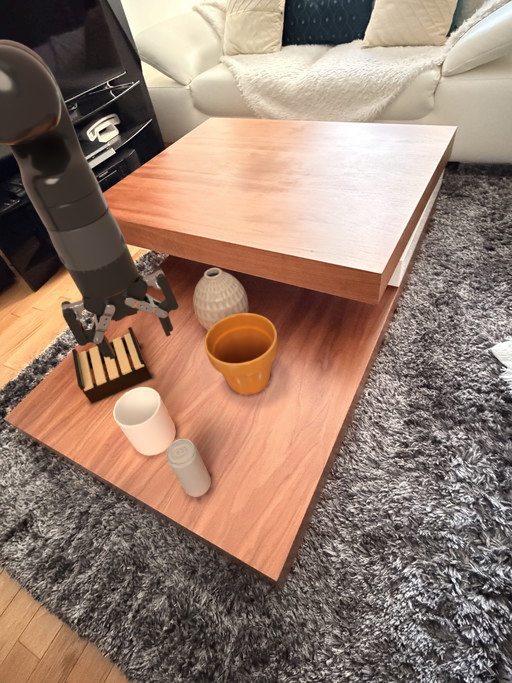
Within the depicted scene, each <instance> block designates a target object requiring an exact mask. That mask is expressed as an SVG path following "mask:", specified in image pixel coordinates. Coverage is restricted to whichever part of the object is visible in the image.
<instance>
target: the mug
mask: <svg viewBox="0 0 512 683" xmlns="http://www.w3.org/2000/svg"><path fill="white" fill-rule="evenodd" d="M112 416H113V419H114V421H115V423H116V424H117V426H119V429H121V431H122V432H123V434H124V435H125V436H126V438H127V439H128V441H129V442H130V444H131V445H132V447H133V448H134V449H135V451H137V453H139V454H140V455H144V456H156V455H159V454H162V453H163V452H165V451H167V449H168V447H169V445H170V444H171V443H172V442H174V441H175V437H176V434H177V432H176V425H175V423H174V421H173V419H172V417H171V415H170V413H169V411H168V409H167V407H166V405H165V403H164V401H163V399H162V397H161V395H160V393H159V392H158V391H157V390H156V389H154V388H152V387H147V386H140V387H136V388H133V389H130V390H128V391H127V392H125V393H124V394H123V395H121V397H119V398H118V399H117V400H116V402H115V405H114V407H113V411H112Z"/></svg>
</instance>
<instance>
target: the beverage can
mask: <svg viewBox="0 0 512 683" xmlns="http://www.w3.org/2000/svg"><path fill="white" fill-rule="evenodd" d="M165 451H166V452H165V457H166V462H167V464H168V466H170V468H171V470H172V472H173V473H174V475H175V476H176V479H177V480H178V481H179V483H180V485H181V486H182V488H183V489H184V491H185V493H186V494H187V495H188V496H190V497H194V498H199V497H201V496H203V495H205V494H206V493H207V492H208V491H209V489H210V488H211V487H210V486H211V485H212V478H211V476H210V473H209V471H208V469H207V467H206V464H205V463H204V461H203V458H202V457H201V455H200V452H199V450H198V448H197V446H196V444H195V443H194V442H193V441H192V440H191V439H188V438H183V437H182V438H178V439H176V440H175V439H174V440H173V442H172V443H171V444H170V445H169V447H168V448H167V449H166V450H165Z"/></svg>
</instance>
